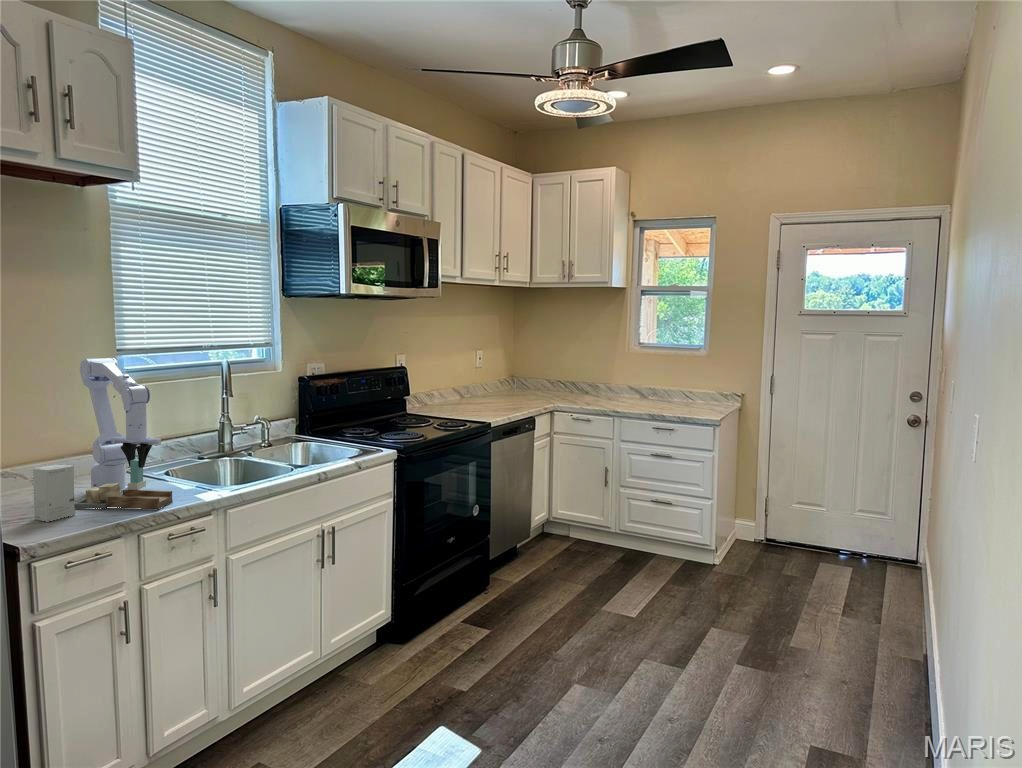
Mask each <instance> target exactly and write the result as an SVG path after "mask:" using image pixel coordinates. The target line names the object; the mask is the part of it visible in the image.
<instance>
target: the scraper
mask: <svg viewBox="0 0 1022 768" xmlns="http://www.w3.org/2000/svg"><path fill="white" fill-rule="evenodd" d="M129 469H130V470H129V471H130V472H129V473H130V476H129V477H130V482H127V485H128V488H127V489H128V490H142V489H143V488H145V487H146V485H147V480H146V479H144V467H142V468H139V465H138V458H135V459H133V460H130V467H129Z"/></svg>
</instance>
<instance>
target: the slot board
mask: <svg viewBox="0 0 1022 768" xmlns="http://www.w3.org/2000/svg"><path fill="white" fill-rule="evenodd" d="M121 492H122V493H121V494H122V495H121V496H108V507H117V508H118V507H119V508H120V507H121V508H141V509H140V510H144V509H159V508H160V509H162V508H164V507H166V506H168V505H169V504H170V503H173V491H172V490H156V489H138V490H128V488H127V489H124V490H122V491H121ZM167 504H168V505H167ZM165 505H166V506H165ZM163 506H164V507H163ZM161 507H162V508H161ZM160 509H159V510H160Z"/></svg>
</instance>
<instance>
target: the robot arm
mask: <svg viewBox="0 0 1022 768" xmlns="http://www.w3.org/2000/svg"><path fill="white" fill-rule="evenodd" d="M79 373H80V377H81V381H82V383H83V386H84V387H86V388H88V390H89V394H90V398H91V402H92V407H93V411H94V415H95V420H96V424H97V428H98V432H99V436H98V437H97V438H96V439H94V441H93V442H92V450H93V451H92V456H93V459H94V462H96V463H94V464H93V465H92V467H91V470H90V485H91V486H90V488H93V487H100V486H102V485H105V484H113V483H119V486H120V491H121V492H122V490H124V489H128V484H127V483H126V482H127V481H126V479H127V478H126V463H127V464H128V466H129V468H130V460H133V459H136V452H137V457H138V458H137V459H138V465H139V468H142V467H143V468H144V467H145V465H146V461H147V458H148V456H149V453H150V451H151V449H152V447H153V446H156V447H158V446H161V445H162V438H157V437H149V436H147V433H148V432H147V430H148V429H147V404H148V403H149V402H150V400H151V393H150V388H149V387H148V386H147V385H145V384H143V385H142V384H141V385H140V384H139V383H137V382H136V380H134V379H133V378H132V377H131V376H130V375H129V373H126V374H124V373H122V371H121V370H120V368H119V361H117V360H116V358H115V357H107V358H106V357H104V358H103V357H102V358H100V357H99V358H83V359H82V360H81V362H80V366H79ZM110 385H112V387H113V388H114V390H115V391H116V392H117V393H118V394H120V395H121V401H122V404H123V409H124V411H125V435H124V434H122V433H120V432H119V431H118V430H117V425H116V422H115V418H114V414H113V413H114V412H113V409H112V405H111V403H110V401H111V400H110V397H109V393H108V390H107V388H108V387H109V386H110Z"/></svg>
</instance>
